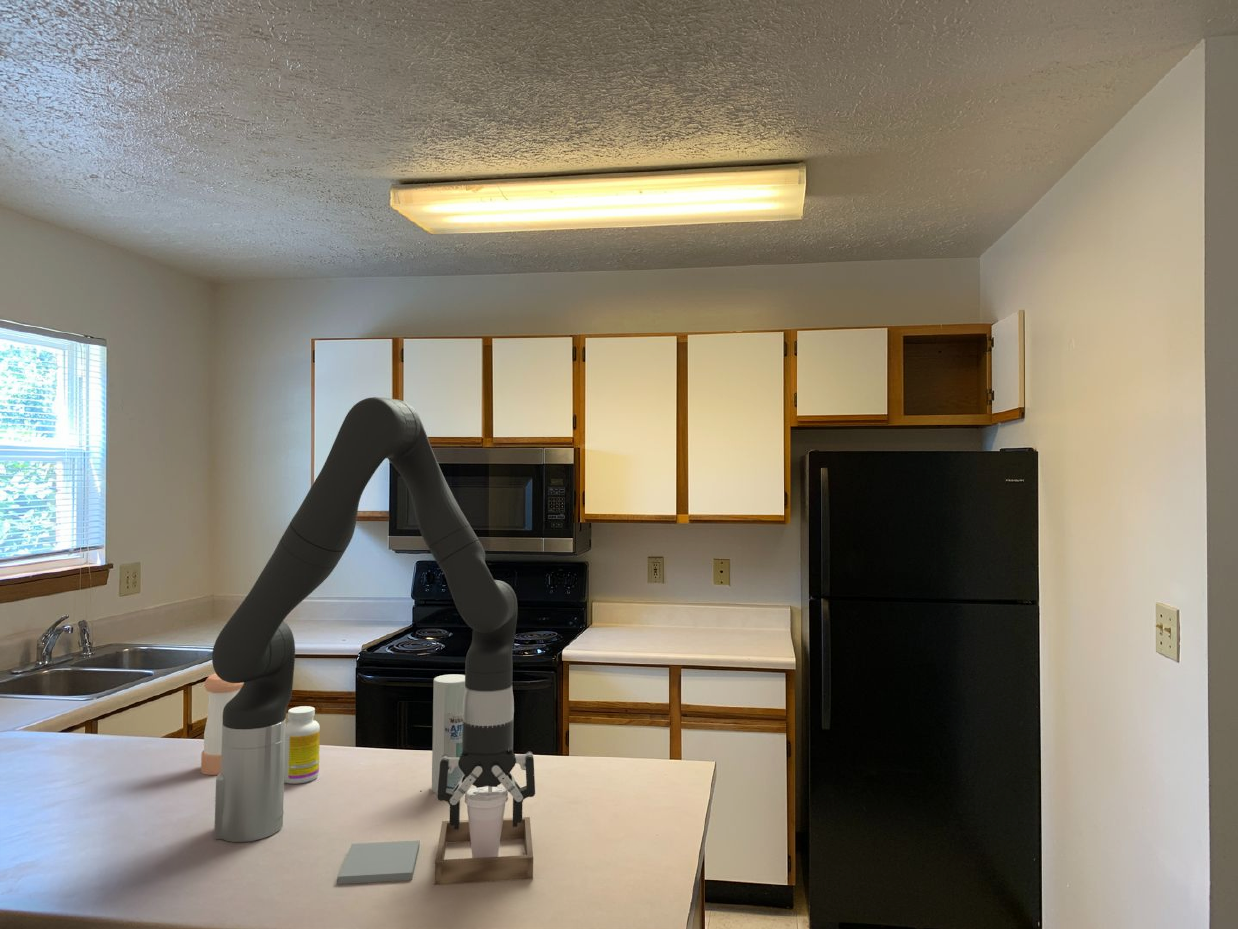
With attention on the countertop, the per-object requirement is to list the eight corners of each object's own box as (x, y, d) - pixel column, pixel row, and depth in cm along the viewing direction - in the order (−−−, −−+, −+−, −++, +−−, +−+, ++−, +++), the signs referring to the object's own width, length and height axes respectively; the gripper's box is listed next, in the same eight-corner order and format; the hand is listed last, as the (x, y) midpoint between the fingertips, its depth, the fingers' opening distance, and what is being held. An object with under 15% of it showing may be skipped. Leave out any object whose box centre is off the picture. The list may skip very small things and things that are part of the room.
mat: (337, 884, 107) (338, 876, 108) (351, 850, 117) (351, 843, 117) (412, 879, 109) (412, 872, 109) (419, 847, 119) (419, 840, 119)
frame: (434, 884, 108) (434, 863, 108) (441, 840, 121) (442, 821, 121) (532, 879, 110) (533, 857, 110) (529, 836, 123) (529, 817, 123)
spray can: (450, 779, 147) (452, 672, 147) (474, 787, 143) (477, 677, 143) (423, 789, 141) (426, 679, 142) (448, 798, 138) (450, 684, 138)
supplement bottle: (326, 777, 147) (328, 708, 147) (295, 788, 141) (297, 716, 142) (304, 769, 150) (306, 702, 151) (272, 780, 145) (274, 710, 145)
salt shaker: (231, 775, 147) (234, 673, 147) (193, 775, 147) (196, 672, 147) (250, 762, 154) (253, 664, 154) (213, 761, 154) (216, 664, 155)
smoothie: (497, 871, 112) (499, 773, 112) (456, 866, 113) (458, 769, 113) (512, 851, 118) (514, 758, 118) (473, 847, 119) (475, 754, 120)
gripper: (437, 725, 111) (435, 840, 111) (537, 722, 113) (535, 835, 113) (441, 710, 119) (439, 818, 118) (534, 707, 121) (533, 813, 120)
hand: (486, 826), depth 116 cm, fingers open, 8 cm apart
